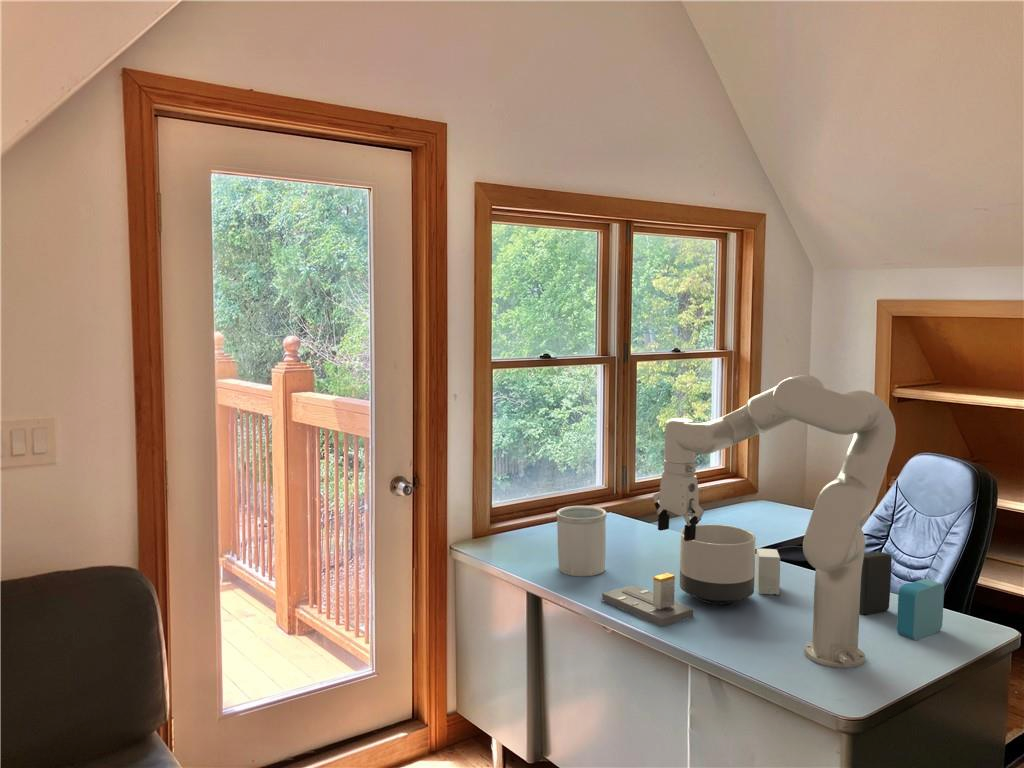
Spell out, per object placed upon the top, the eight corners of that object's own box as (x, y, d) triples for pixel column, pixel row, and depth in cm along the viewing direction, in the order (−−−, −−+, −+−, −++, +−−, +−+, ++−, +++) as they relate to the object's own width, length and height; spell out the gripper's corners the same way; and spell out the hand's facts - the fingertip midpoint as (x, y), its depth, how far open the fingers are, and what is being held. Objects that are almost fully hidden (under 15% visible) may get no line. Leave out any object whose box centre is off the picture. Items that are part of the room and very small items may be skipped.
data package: (924, 624, 205) (926, 577, 204) (942, 630, 201) (945, 582, 200) (895, 635, 198) (898, 586, 197) (913, 641, 195) (916, 592, 193)
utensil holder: (551, 575, 242) (551, 516, 240) (560, 559, 256) (561, 504, 254) (602, 579, 238) (602, 519, 236) (608, 563, 253) (609, 506, 251)
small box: (779, 595, 225) (780, 557, 224) (758, 594, 226) (759, 556, 225) (776, 585, 233) (777, 548, 232) (755, 584, 234) (756, 547, 233)
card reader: (879, 606, 217) (881, 550, 215) (891, 611, 213) (893, 554, 212) (851, 611, 214) (853, 554, 212) (863, 616, 210) (865, 558, 208)
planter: (753, 589, 229) (755, 527, 228) (754, 615, 211) (756, 547, 209) (682, 583, 235) (683, 522, 233) (676, 608, 216) (677, 541, 214)
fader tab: (674, 605, 211) (674, 575, 210) (660, 609, 208) (660, 579, 208) (667, 602, 213) (667, 572, 212) (653, 606, 210) (653, 576, 210)
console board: (693, 616, 210) (693, 608, 210) (662, 626, 204) (662, 618, 204) (632, 591, 228) (632, 584, 228) (602, 600, 222) (602, 592, 221)
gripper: (715, 473, 202) (711, 542, 204) (667, 459, 216) (664, 524, 219) (692, 476, 198) (688, 546, 200) (644, 462, 213) (642, 527, 215)
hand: (676, 534), depth 209 cm, fingers open, 9 cm apart
